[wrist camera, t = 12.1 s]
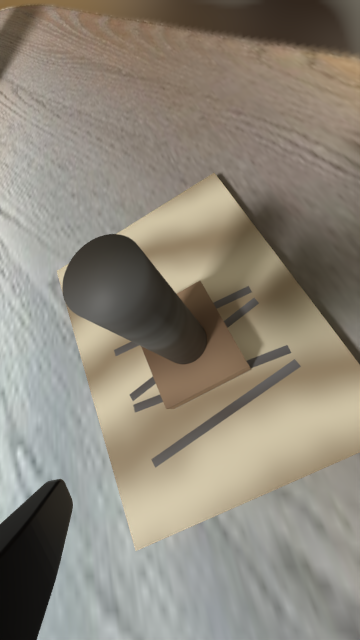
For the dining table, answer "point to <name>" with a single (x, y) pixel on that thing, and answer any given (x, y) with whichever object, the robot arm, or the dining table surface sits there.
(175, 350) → the grey post on base
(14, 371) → the dining table surface
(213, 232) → the birch board
